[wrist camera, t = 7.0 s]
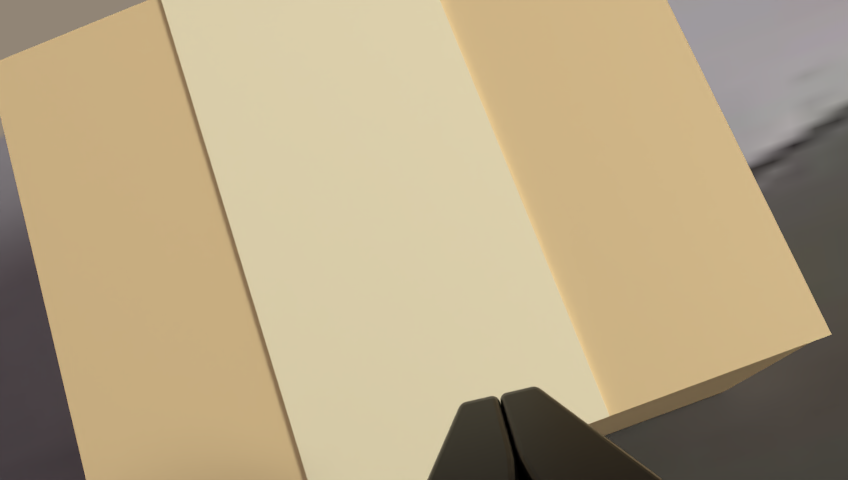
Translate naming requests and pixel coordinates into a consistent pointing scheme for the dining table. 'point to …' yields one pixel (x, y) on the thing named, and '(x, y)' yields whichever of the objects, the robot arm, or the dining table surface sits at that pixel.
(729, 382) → the cardboard box
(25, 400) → the dining table surface
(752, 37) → the dining table surface
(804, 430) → the dining table surface
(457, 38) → the box lid
